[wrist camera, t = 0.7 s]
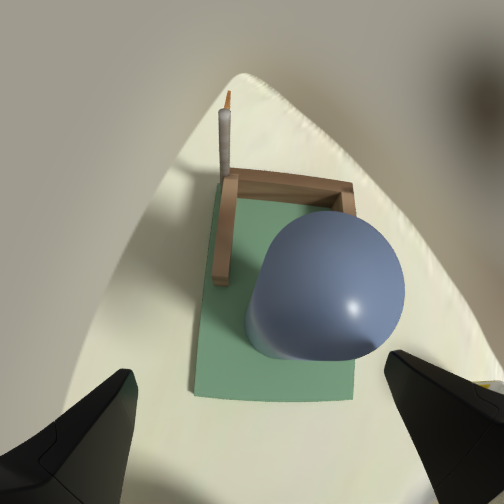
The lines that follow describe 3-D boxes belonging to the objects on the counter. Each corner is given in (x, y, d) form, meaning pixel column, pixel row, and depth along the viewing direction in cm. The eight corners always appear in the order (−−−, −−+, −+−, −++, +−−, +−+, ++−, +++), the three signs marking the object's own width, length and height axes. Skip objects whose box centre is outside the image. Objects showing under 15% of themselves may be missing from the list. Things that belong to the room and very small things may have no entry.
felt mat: (349, 398, 21) (352, 399, 21) (194, 394, 21) (193, 395, 20) (346, 201, 28) (348, 198, 27) (217, 186, 27) (217, 183, 27)
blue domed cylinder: (331, 324, 23) (426, 286, 11) (278, 374, 21) (337, 394, 9) (283, 272, 24) (334, 186, 12) (228, 318, 22) (226, 272, 10)
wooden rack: (347, 295, 24) (410, 255, 14) (208, 285, 23) (194, 235, 14) (339, 182, 28) (378, 114, 19) (223, 169, 27) (223, 89, 18)
